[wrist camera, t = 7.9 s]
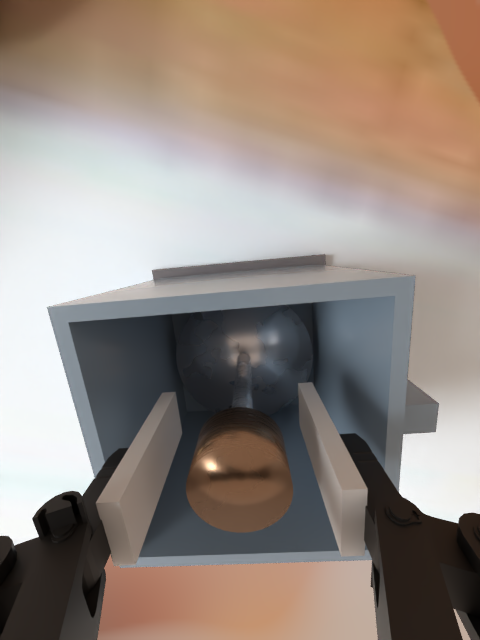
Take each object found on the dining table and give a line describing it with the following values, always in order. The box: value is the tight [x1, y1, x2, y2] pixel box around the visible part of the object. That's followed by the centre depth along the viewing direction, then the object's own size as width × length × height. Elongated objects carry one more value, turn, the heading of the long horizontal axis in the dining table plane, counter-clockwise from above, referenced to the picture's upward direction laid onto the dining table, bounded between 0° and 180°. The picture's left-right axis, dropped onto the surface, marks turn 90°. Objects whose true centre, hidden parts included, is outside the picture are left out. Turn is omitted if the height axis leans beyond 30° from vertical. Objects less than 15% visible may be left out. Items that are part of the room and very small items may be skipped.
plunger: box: [176, 305, 313, 533], centre depth 16 cm, size 12×12×13 cm
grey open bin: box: [47, 254, 439, 568], centre depth 19 cm, size 18×16×15 cm
